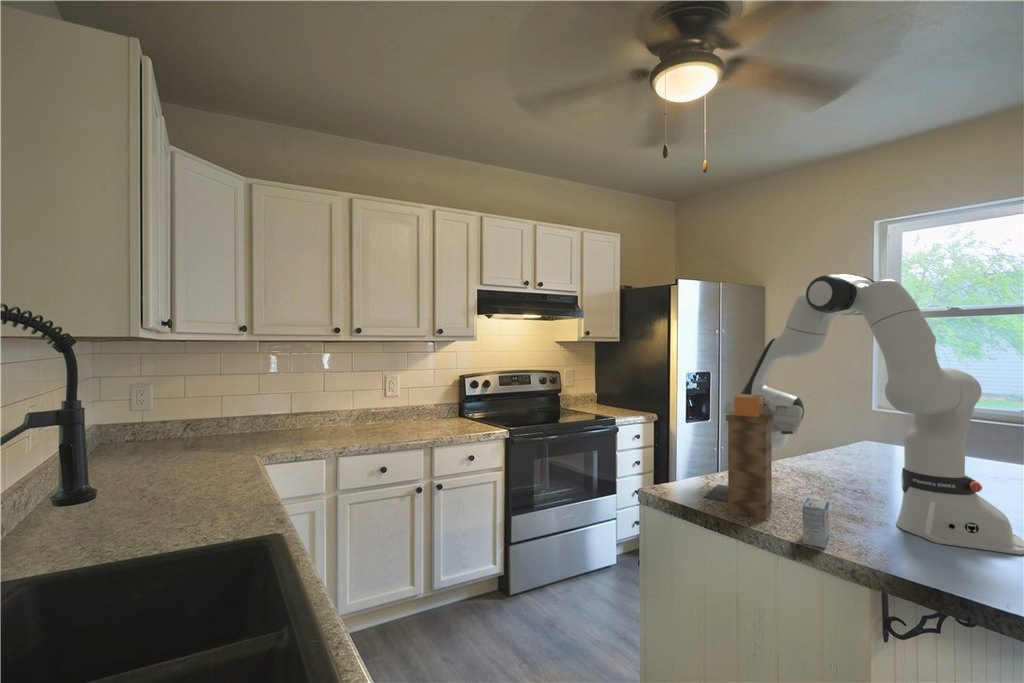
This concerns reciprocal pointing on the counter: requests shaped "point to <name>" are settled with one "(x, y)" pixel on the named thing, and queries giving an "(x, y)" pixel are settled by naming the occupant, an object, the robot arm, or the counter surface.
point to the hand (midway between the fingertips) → (757, 401)
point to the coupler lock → (749, 405)
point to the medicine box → (815, 522)
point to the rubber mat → (718, 493)
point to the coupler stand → (750, 465)
